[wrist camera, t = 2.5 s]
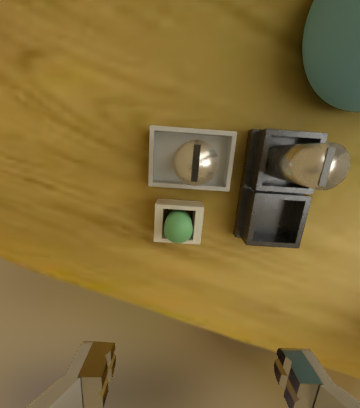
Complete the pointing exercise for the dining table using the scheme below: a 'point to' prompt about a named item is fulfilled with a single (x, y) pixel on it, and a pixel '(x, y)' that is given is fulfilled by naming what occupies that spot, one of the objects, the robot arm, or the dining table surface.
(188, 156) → the cylinder
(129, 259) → the dining table surface
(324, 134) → the dark two-compartment tray
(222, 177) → the tote
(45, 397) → the robot arm
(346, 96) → the sugar bowl
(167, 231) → the button
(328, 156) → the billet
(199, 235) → the box
